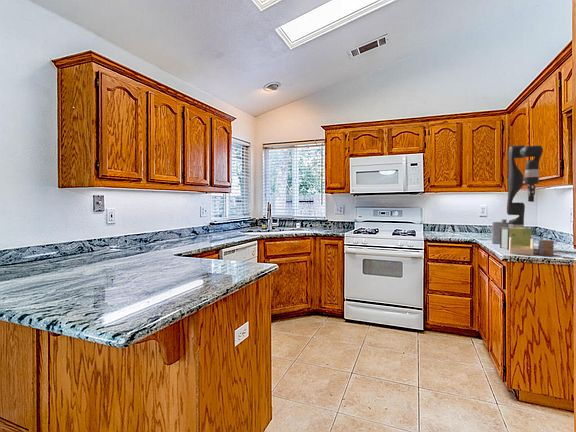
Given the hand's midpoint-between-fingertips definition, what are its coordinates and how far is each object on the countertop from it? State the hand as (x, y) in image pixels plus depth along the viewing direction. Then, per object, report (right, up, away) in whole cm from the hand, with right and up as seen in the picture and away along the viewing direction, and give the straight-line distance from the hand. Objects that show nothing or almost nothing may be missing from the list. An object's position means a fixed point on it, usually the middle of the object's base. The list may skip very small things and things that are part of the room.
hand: (530, 201), depth 215 cm
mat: (+4, -34, -7) cm, 35 cm away
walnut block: (+4, -34, -7) cm, 35 cm away
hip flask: (+12, -32, +46) cm, 57 cm away
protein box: (+2, -34, +18) cm, 38 cm away
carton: (-7, -34, 0) cm, 35 cm away
